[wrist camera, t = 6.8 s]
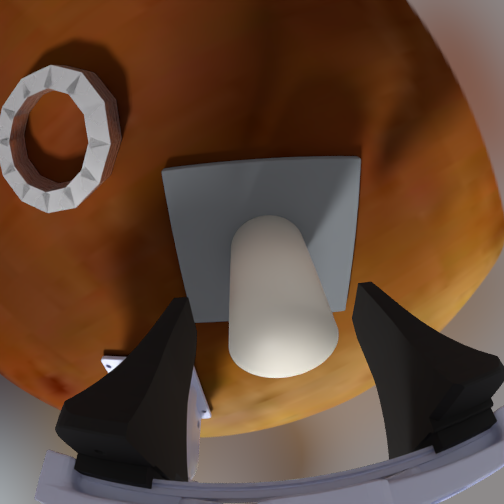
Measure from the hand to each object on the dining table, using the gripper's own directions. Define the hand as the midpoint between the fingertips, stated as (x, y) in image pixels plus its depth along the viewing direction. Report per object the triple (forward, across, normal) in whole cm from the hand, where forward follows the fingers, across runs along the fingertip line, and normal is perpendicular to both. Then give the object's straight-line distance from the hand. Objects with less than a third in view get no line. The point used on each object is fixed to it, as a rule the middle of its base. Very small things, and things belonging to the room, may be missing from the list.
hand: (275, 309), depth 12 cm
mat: (+5, 0, 0) cm, 5 cm away
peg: (+5, 0, 0) cm, 5 cm away
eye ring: (+5, +11, -8) cm, 15 cm away
